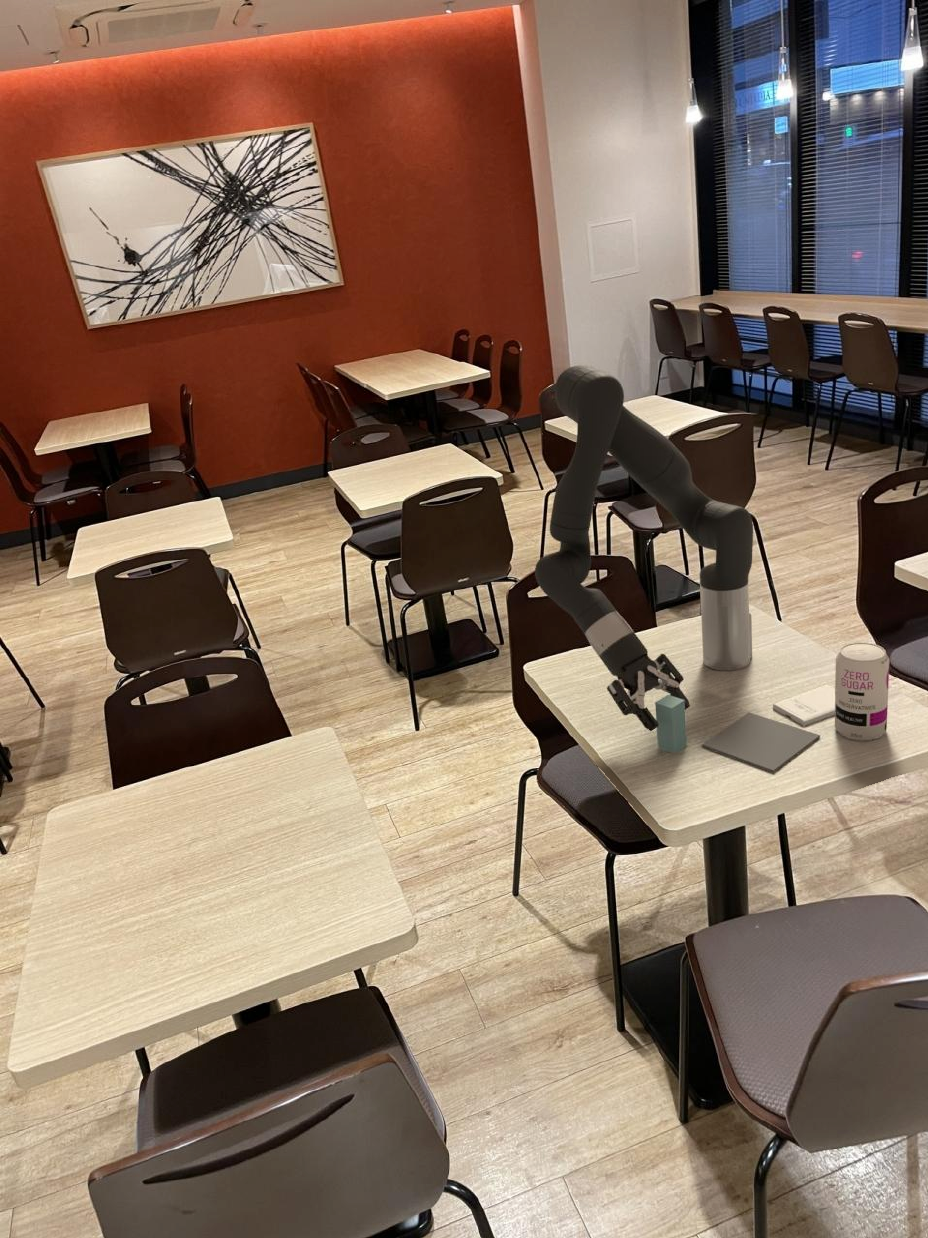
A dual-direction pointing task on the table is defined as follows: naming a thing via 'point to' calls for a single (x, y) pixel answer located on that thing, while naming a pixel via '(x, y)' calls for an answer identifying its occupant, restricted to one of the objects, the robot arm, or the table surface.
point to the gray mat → (761, 742)
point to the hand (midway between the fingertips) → (670, 718)
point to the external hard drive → (809, 705)
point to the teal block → (671, 724)
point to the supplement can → (861, 691)
